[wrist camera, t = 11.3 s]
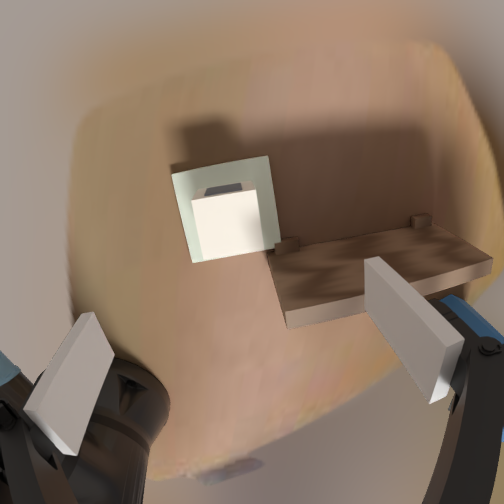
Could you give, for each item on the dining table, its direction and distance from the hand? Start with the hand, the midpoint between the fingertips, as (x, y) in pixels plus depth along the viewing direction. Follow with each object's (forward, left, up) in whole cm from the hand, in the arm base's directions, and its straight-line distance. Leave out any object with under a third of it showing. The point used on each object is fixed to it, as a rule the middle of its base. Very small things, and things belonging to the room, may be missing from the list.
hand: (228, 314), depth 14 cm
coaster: (0, +1, -17) cm, 17 cm away
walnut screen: (+13, -5, -17) cm, 22 cm away
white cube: (0, +1, -16) cm, 16 cm away
